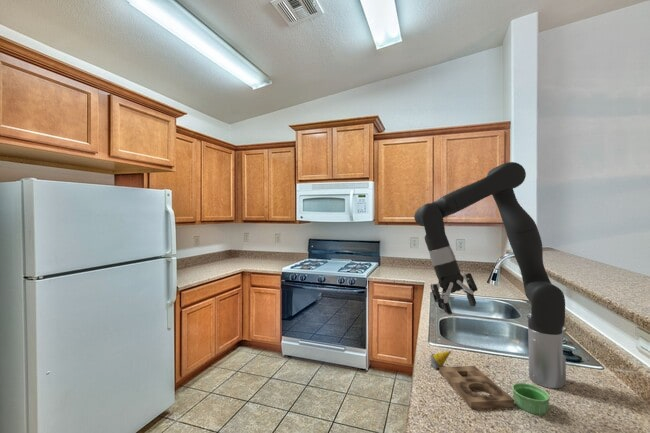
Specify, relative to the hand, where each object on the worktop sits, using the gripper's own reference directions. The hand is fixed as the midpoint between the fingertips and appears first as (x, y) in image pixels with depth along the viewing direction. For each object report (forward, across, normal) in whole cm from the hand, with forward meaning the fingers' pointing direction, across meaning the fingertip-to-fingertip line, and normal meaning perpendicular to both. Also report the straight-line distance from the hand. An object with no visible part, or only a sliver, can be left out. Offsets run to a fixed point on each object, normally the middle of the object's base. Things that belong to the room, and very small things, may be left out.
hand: (461, 310), depth 95 cm
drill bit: (+21, +6, -18) cm, 29 cm away
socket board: (+25, +3, -5) cm, 25 cm away
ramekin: (+30, -7, +5) cm, 31 cm away
